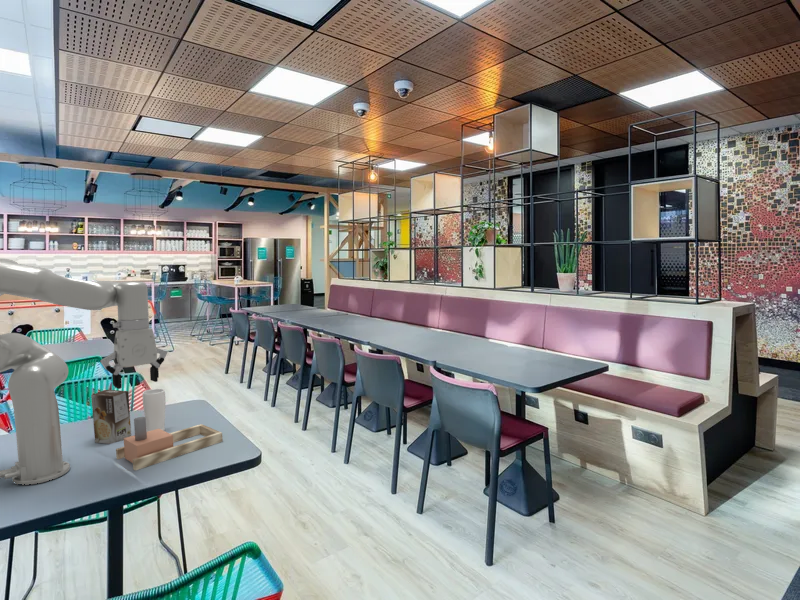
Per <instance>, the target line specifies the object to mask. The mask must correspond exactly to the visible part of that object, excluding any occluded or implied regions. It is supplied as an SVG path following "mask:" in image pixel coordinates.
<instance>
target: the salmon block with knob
mask: <svg viewBox="0 0 800 600" xmlns="http://www.w3.org/2000/svg"><path fill="white" fill-rule="evenodd" d="M133 425H134V435H131V436H130V437H127V438H124V440H123V447H124V452H125V458H124V459H125V460H126V461H129V462H130V463H132V464H133V459H136V458H139V457H142V456H145V455H149V454H152V453H155V452H158V451H161V450H164V449H168V448H171V447H174V442H173V435H171V434H169V433H170V432H167V431H166V430H165V431H163V430H161V429H155V430H152V431H148V432H147V427H146V417H145V416H140V417H135V418H134V419H133Z"/></svg>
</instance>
